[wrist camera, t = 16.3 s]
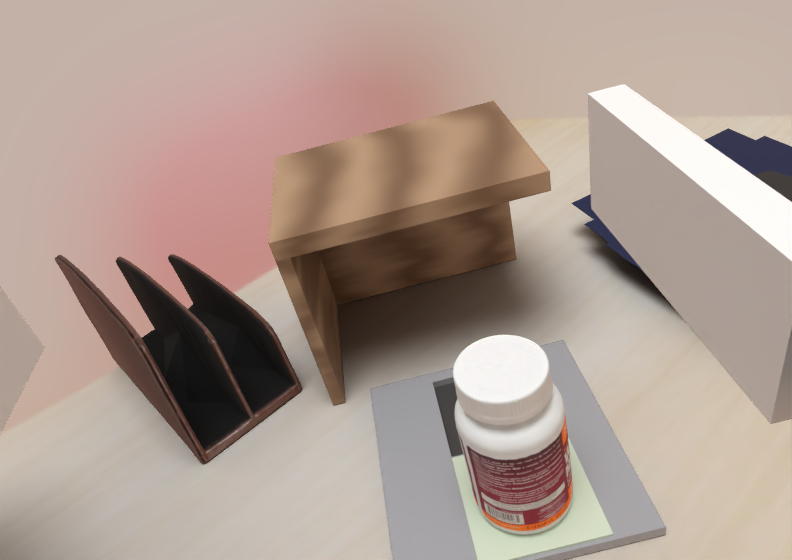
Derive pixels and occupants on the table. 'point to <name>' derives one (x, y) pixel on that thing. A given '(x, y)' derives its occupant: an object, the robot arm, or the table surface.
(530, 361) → the pill bottle
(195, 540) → the table surface
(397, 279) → the cubby
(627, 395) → the table surface
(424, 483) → the board
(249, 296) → the table surface
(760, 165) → the navy blue folder
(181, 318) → the letter holder
